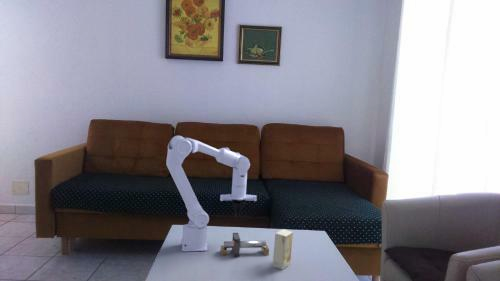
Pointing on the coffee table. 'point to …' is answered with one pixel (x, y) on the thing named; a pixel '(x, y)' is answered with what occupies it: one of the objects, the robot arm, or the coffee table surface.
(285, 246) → the skincare box
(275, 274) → the coffee table surface
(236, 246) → the grey square collar
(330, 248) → the coffee table surface
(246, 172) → the robot arm
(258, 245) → the pipe
